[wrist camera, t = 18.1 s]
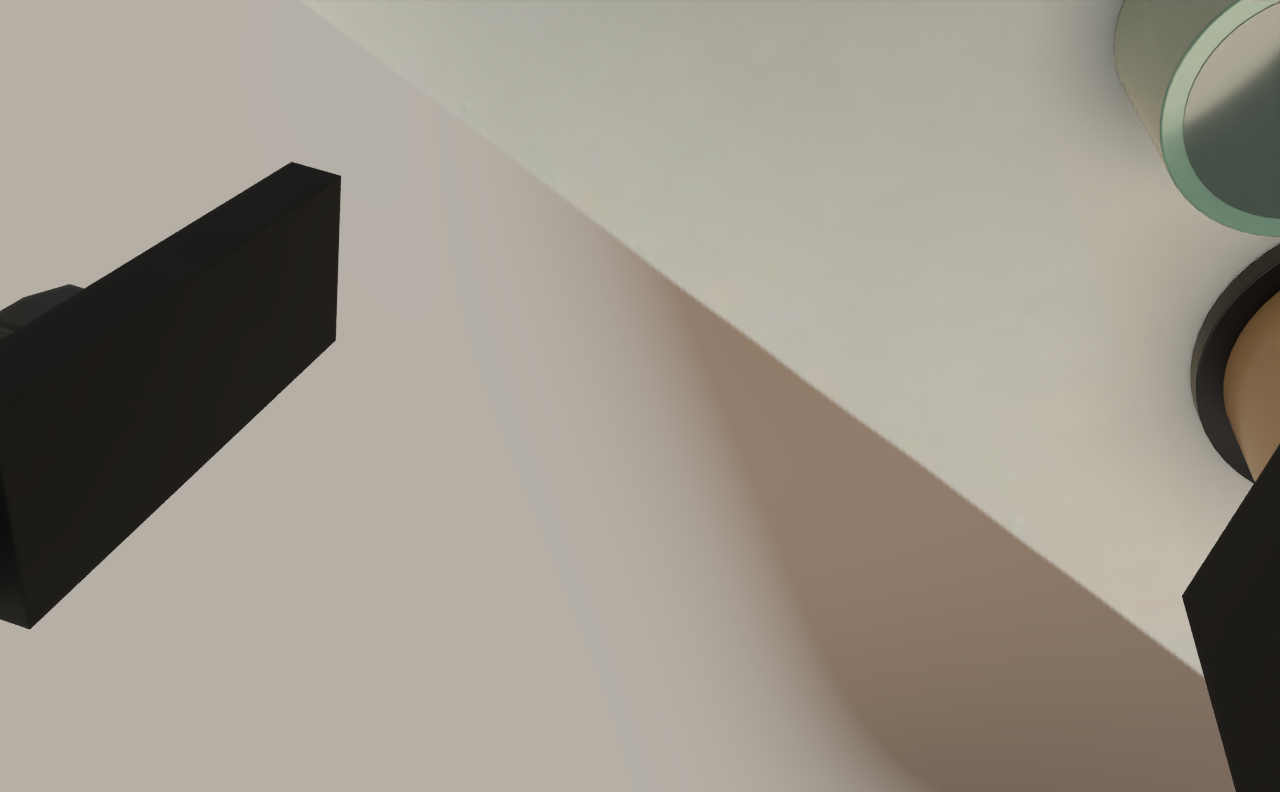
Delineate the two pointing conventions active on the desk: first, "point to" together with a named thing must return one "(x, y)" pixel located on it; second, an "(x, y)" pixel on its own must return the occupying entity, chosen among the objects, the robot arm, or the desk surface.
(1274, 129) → the tumbler
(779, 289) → the desk surface
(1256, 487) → the robot arm
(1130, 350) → the desk surface
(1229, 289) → the tan and grey cylinder
